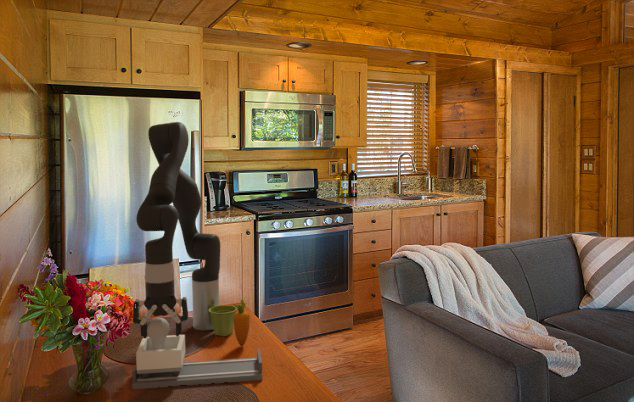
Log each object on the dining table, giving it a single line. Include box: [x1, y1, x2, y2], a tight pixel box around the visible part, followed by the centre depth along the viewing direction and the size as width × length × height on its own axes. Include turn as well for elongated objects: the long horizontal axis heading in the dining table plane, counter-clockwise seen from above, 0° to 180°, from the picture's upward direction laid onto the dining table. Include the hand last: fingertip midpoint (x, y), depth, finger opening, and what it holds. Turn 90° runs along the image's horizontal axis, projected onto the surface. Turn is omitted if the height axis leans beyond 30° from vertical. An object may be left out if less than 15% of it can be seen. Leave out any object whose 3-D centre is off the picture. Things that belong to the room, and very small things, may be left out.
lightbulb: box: [146, 316, 171, 350], centre depth 141 cm, size 6×6×11 cm
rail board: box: [131, 348, 263, 390], centre depth 143 cm, size 12×34×4 cm, turn 100°
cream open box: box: [135, 334, 186, 379], centre depth 141 cm, size 11×11×8 cm
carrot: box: [232, 299, 250, 348], centre depth 163 cm, size 5×5×15 cm
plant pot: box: [209, 304, 238, 337], centre depth 175 cm, size 9×9×9 cm
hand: (161, 336), depth 141 cm, fingers open, 8 cm apart
